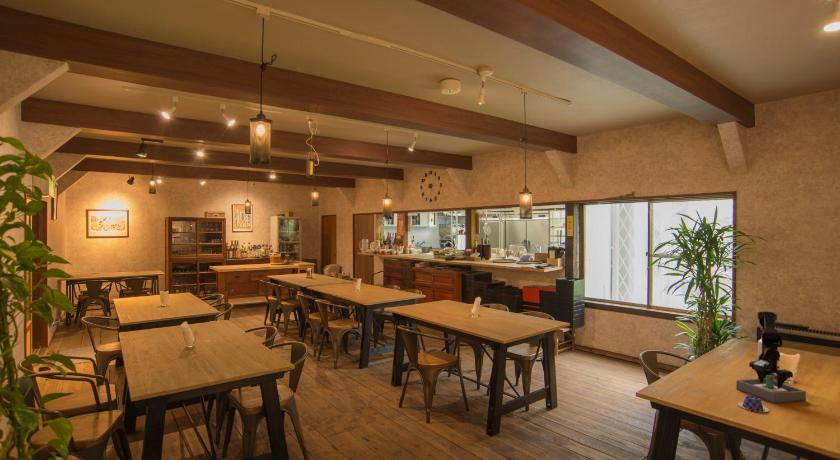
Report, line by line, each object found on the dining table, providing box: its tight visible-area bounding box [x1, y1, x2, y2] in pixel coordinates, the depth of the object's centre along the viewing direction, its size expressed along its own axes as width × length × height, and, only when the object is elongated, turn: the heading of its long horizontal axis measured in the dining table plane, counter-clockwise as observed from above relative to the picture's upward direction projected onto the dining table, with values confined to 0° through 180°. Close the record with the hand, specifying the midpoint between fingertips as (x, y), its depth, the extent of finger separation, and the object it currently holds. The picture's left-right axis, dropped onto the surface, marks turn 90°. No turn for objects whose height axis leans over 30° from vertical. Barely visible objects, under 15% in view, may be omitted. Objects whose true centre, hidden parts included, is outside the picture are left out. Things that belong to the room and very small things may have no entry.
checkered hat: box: [737, 395, 770, 413], centre depth 209 cm, size 12×12×5 cm
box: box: [735, 378, 807, 405], centre depth 226 cm, size 20×20×5 cm
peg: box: [766, 375, 775, 389], centre depth 226 cm, size 3×3×9 cm
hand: (770, 385), depth 226 cm, fingers open, 9 cm apart
